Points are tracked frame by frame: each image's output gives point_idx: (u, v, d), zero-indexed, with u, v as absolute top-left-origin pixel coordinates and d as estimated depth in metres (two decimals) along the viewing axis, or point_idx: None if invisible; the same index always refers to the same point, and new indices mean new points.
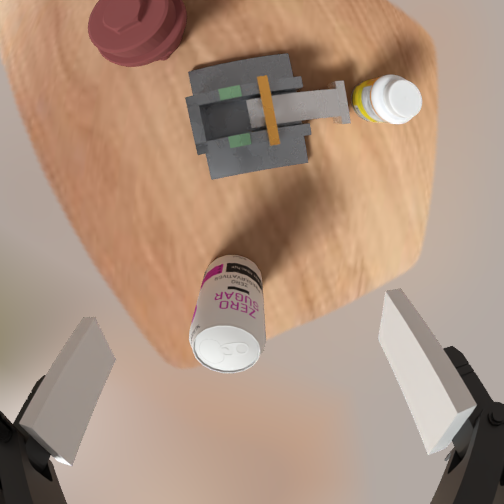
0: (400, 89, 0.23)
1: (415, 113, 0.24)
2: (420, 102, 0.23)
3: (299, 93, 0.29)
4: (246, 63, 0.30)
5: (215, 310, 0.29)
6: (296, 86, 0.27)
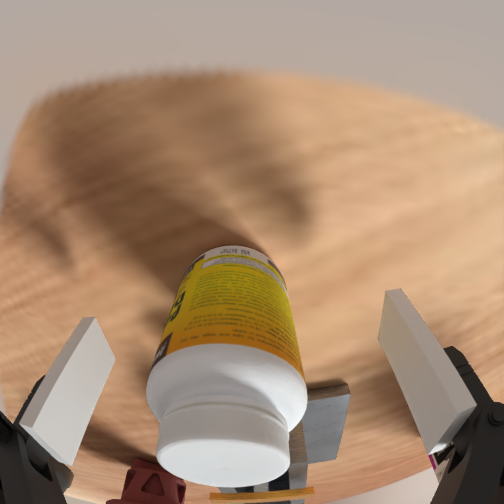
0: (197, 474, 0.07)
1: (274, 454, 0.06)
2: (225, 445, 0.06)
3: None
4: None
5: None
6: None
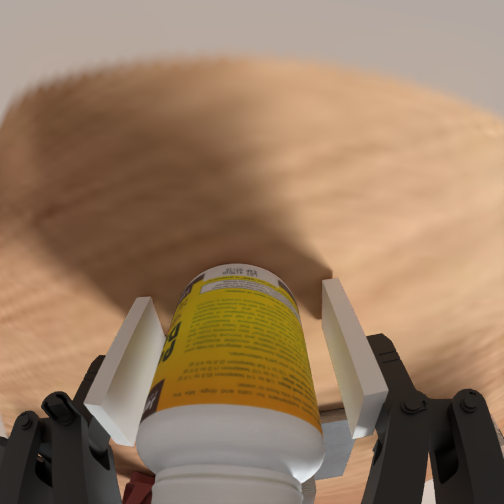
0: None
1: None
2: None
3: None
4: None
5: None
6: None
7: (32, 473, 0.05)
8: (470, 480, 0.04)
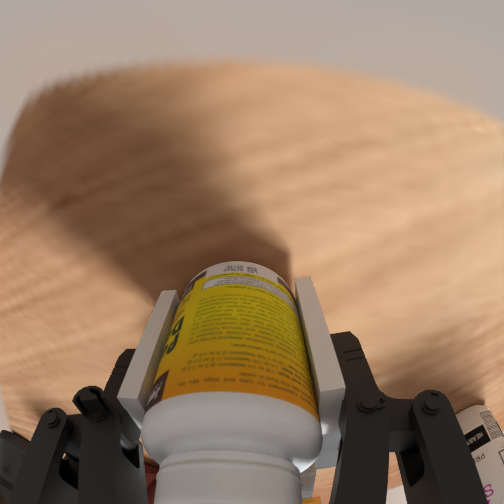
0: None
1: None
2: None
3: None
4: None
5: None
6: None
7: (55, 473, 0.05)
8: (438, 484, 0.04)
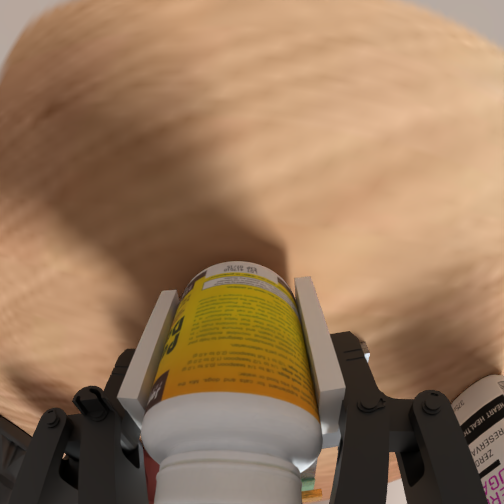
0: None
1: None
2: None
3: None
4: None
5: None
6: None
7: (55, 473, 0.05)
8: (437, 484, 0.04)
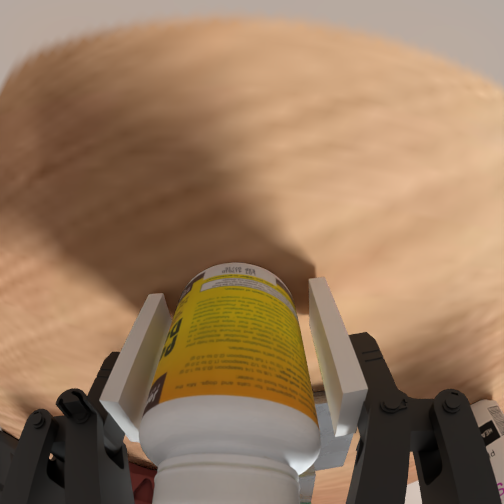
0: None
1: None
2: None
3: None
4: None
5: None
6: None
7: (43, 473, 0.05)
8: (454, 481, 0.04)
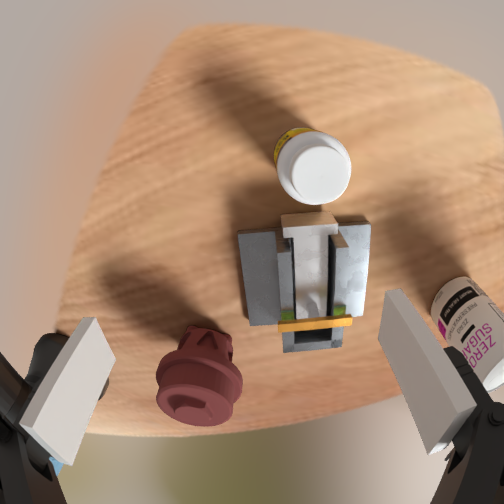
0: (308, 183, 0.19)
1: (343, 161, 0.18)
2: (326, 150, 0.18)
3: (296, 276, 0.29)
4: (248, 276, 0.33)
5: None
6: (289, 258, 0.26)
7: None
8: None
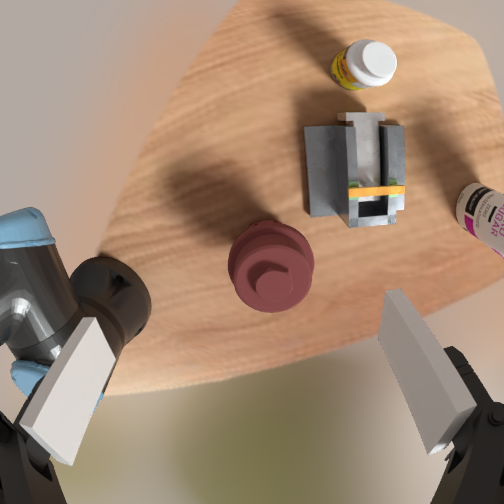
0: (372, 62, 0.23)
1: (392, 52, 0.22)
2: (381, 44, 0.22)
3: None
4: (312, 165, 0.36)
5: None
6: (354, 132, 0.30)
7: None
8: None
